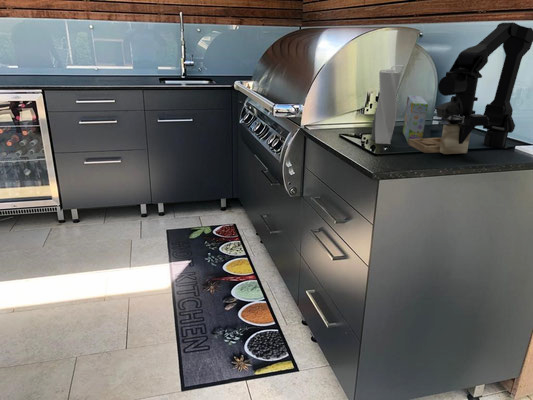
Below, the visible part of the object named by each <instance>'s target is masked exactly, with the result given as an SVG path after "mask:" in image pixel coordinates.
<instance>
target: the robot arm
mask: <svg viewBox="0 0 533 400" xmlns="http://www.w3.org/2000/svg"><path fill="white" fill-rule="evenodd" d="M532 45H533V28H532V27H527V26H524V25H523V26H522V25H519V24H518V23H516V22H513V21H512V22H509V21H508V22H501V23H498V24H497V26H496V28H495V29H494V30H492V31H491V32H490V33H488V35H487V36H486V37H484V38H483V39H482V40H481V41H480V42H479V43H477V44H475V45H474V46H470V47H467V48H464V49H463V50H462V51H460V52H459V54H458V56H456V59H455V61H454V62H453V64H452V66H451V68H450V69H449V70H448V71H446V73H445V76H443V77H442V78H441V79H440V80H439V82H438V84H437V89H438V92H439V93H440V94H441V95H442V96H444V97H447V96H450V100H449V101H447V102H444V103H442V104H439V105H437V106H436V107H435V111H436V112H435V113H436V116H437V118H441V119H442V120H444V121H445V122H446V123H447V124H457V125H458V126H459V128H460V130H459V144H462V143H463V142H464V141H465V139H466V138H467V137H468V135H469V134H470V135H471V133H472V131H473V130H474V129H476V127H477V126H478V127H480V126H481V127H482V128H483V129H484V130H485V129H486V133H485V134H484V139H483V146H485V147H487V148H488V147H489V148H490V147H491V148H498V149H499V148H500V149H503V150H509V146H506V145H507V140H508V135H509V133H510V134H511V133H513V132H514V131H515V127H516V124H515V122H514V119H513V110H514V109H513V107H512V103H511V100H512V95H513V91H514V88H515V85H516V80H517V77H518V74H519V69H520V66H521V62H522V59H523V57H524V56H525V55H526V54H527V52H529V51H530V50H531V49H532V48H531V47H532ZM500 46H502V48H503V49H502V50H503V51H504V54H505V57H504V61H503V64H502V68H501V71H500V76H499V79H498V84H497V87H496V91H495V95H494V98H493V100H492V101H491V102H490V103H487V104H486V105H485V106H484V107H485V108H484V112H483V114H481V113H476V110H475V109H474V105H475V102H478V98H479V97H478V96H477V97H476V93H477V87H478V83H479V79H482V78H483V75H482V73H480V71H481V70H482V69H484V68H485V66H486V65H487V64H488V62H489V56H491V55H492V54H493V53H494V52H495V51H496V50H497V49H498V48H500ZM473 109H474V110H473ZM470 132H471V133H470Z"/></svg>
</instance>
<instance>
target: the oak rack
mask: <svg viewBox="0 0 533 400" xmlns="http://www.w3.org/2000/svg"><path fill="white" fill-rule="evenodd" d="M441 139H442V137H429V138H428V137H426V138H422V139H409V141H408V142H407V146H410V147H412V148H414V149H415V150H418V151H420V152H422V153H425V154H430V153H431V154H432V153H433V154H434V153H441V152H440V145H441ZM423 140H425V141H428V142H431V143H433V144H434V146H426V145H424V144H422V143H420V142H418V141H423Z"/></svg>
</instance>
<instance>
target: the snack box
mask: <svg viewBox="0 0 533 400" xmlns="http://www.w3.org/2000/svg"><path fill="white" fill-rule="evenodd" d="M406 100H407V101H406V108H405V113H404V122H403V128H402V134H403V135H404V137H405V140H406V143H408V141H409V139H422V138H423V137H424V131H425V124H426V121H427V120H426V118H427V114H428V106H429V103H428V102H427V101H426V100H425V98H423V97H422V96H420V95H407V99H406Z"/></svg>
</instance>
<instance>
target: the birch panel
mask: <svg viewBox="0 0 533 400" xmlns="http://www.w3.org/2000/svg"><path fill="white" fill-rule="evenodd" d="M459 130H460V128H459V126H458V125H457V124H448V123H447V124H443V127H442V133H441V138H442V139H441V145H440V152H439V153H442V154H443V155H452V154H453V155H454V154H455V155H457V154H467V153H468V150H469V148H468V147H469V144H470V143H469V142H470V138H471V133H472V131H471V132H470V134H469V135H468V137H467V138H466V139H465V141H464V142H463V143H462V144H459Z"/></svg>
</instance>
